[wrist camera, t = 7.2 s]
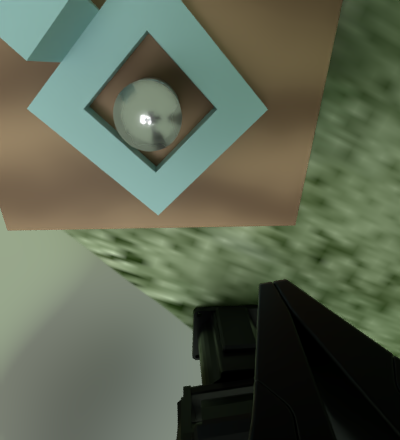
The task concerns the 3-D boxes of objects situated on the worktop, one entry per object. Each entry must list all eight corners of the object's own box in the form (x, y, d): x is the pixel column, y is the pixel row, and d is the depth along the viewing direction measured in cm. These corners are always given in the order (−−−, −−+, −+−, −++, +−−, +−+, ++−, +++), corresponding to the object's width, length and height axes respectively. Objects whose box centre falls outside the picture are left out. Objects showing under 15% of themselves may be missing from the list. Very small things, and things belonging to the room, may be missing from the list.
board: (289, 217, 22) (295, 225, 21) (16, 221, 20) (7, 230, 19) (354, -114, 14) (370, -129, 13) (-100, -160, 12) (-126, -182, 11)
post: (179, 133, 17) (181, 151, 14) (128, 132, 17) (116, 151, 13) (179, 77, 16) (182, 81, 12) (123, 76, 16) (109, 78, 12)
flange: (261, 106, 17) (294, 120, 13) (158, 207, 19) (155, 248, 15) (36, -174, 11) (-50, -328, 7) (-70, 18, 14) (-184, -6, 9)
